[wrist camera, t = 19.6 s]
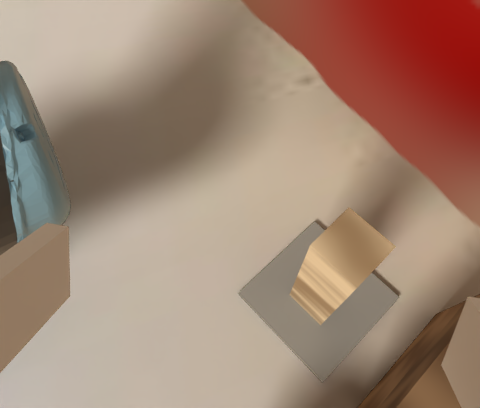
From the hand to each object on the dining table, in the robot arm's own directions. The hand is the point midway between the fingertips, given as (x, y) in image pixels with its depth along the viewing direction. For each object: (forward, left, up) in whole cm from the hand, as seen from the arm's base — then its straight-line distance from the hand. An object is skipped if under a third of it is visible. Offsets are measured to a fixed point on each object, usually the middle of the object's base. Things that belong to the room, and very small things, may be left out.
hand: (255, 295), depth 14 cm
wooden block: (+9, 0, -26) cm, 28 cm away
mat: (+9, 0, -27) cm, 28 cm away
